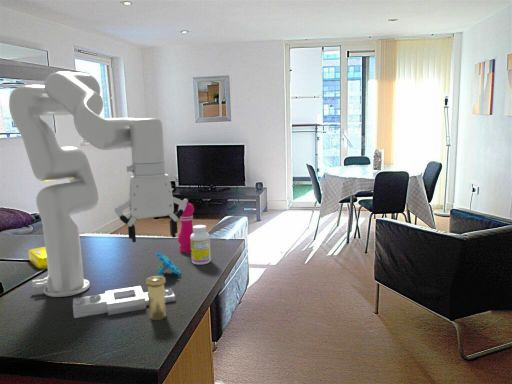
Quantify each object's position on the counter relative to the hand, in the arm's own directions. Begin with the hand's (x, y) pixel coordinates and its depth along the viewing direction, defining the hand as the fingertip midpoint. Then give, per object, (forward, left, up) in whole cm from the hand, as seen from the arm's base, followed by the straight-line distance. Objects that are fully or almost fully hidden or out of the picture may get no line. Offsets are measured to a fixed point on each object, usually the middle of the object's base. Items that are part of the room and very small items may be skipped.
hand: (153, 238), depth 112 cm
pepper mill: (+20, +54, -21) cm, 61 cm away
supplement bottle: (+21, +38, -21) cm, 48 cm away
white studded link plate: (-7, +11, -20) cm, 24 cm away
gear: (+10, +30, -22) cm, 38 cm away
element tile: (-27, +63, -21) cm, 72 cm away
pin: (0, 0, -20) cm, 20 cm away
